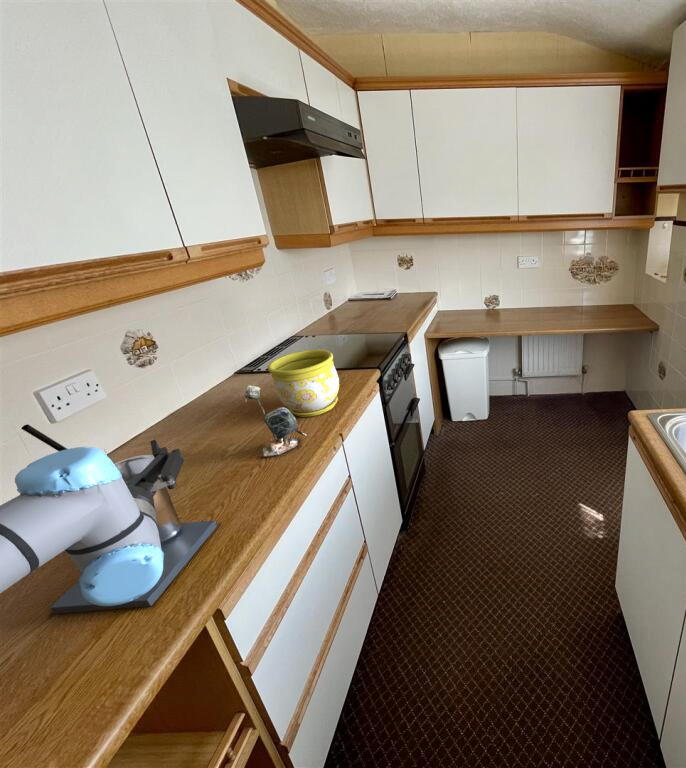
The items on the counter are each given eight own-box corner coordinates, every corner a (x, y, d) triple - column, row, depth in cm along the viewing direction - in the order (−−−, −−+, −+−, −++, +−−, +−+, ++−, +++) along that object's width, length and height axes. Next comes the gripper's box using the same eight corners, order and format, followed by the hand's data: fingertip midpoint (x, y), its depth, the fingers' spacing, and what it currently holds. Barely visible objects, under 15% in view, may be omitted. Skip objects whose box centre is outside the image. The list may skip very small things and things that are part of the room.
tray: (53, 613, 67) (49, 607, 67) (139, 531, 84) (136, 526, 83) (151, 606, 68) (147, 600, 67) (217, 525, 84) (214, 520, 83)
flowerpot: (287, 428, 118) (269, 377, 111) (281, 405, 132) (265, 358, 125) (350, 409, 127) (337, 361, 120) (338, 389, 141) (326, 345, 134)
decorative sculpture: (302, 453, 106) (279, 384, 97) (256, 459, 105) (228, 390, 96) (311, 437, 113) (290, 371, 105) (268, 442, 112) (243, 376, 103)
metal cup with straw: (123, 570, 72) (19, 428, 59) (124, 536, 80) (32, 403, 67) (196, 536, 78) (116, 400, 65) (189, 507, 86) (117, 381, 73)
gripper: (25, 584, 55) (43, 505, 70) (220, 500, 68) (200, 449, 83) (-9, 544, 52) (18, 470, 67) (202, 464, 65) (185, 417, 80)
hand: (119, 458), depth 75 cm, fingers closed on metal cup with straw, 10 cm apart
